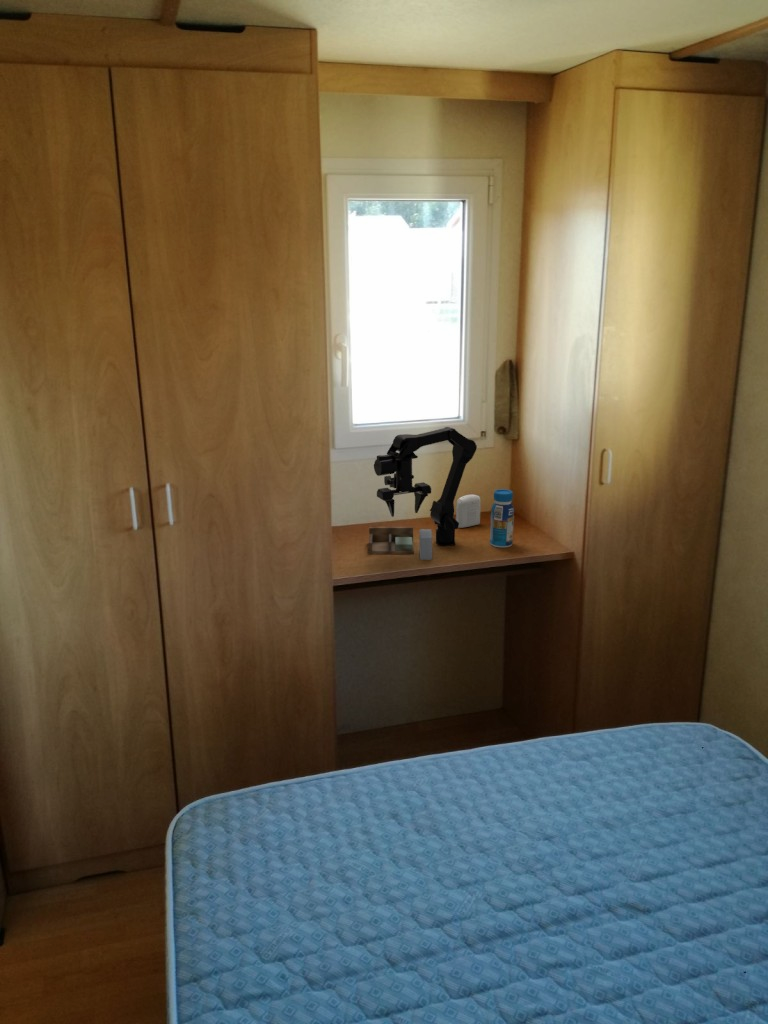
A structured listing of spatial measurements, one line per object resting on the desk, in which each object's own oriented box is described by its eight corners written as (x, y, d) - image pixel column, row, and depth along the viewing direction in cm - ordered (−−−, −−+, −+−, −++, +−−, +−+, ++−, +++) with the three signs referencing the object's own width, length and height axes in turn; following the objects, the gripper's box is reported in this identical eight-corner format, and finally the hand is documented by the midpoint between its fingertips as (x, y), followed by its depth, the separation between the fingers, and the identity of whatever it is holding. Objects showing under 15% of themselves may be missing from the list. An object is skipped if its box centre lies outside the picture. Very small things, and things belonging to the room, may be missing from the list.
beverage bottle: (485, 541, 288) (487, 489, 282) (506, 539, 291) (508, 487, 285) (495, 549, 280) (497, 495, 275) (516, 546, 283) (519, 493, 277)
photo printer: (474, 521, 311) (475, 491, 307) (481, 524, 308) (482, 494, 304) (454, 526, 306) (454, 495, 302) (460, 529, 302) (461, 498, 299)
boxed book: (430, 550, 280) (430, 529, 277) (431, 559, 271) (432, 537, 269) (419, 550, 280) (419, 529, 277) (420, 559, 271) (420, 537, 269)
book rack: (413, 542, 288) (413, 526, 286) (413, 553, 276) (414, 537, 274) (369, 542, 288) (369, 526, 286) (368, 553, 276) (368, 537, 275)
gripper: (417, 463, 282) (417, 504, 287) (369, 469, 275) (370, 512, 279) (432, 470, 272) (432, 513, 277) (382, 477, 265) (383, 521, 270)
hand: (404, 514), depth 276 cm, fingers open, 9 cm apart
